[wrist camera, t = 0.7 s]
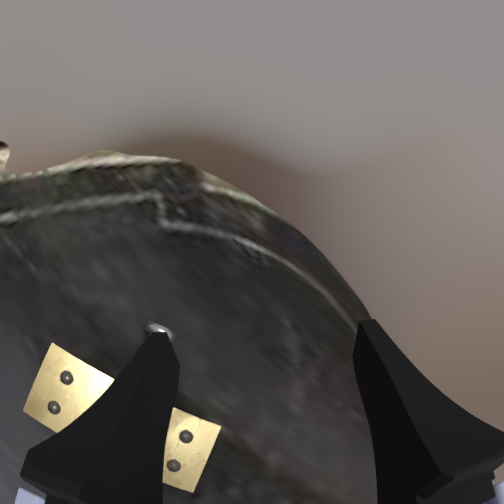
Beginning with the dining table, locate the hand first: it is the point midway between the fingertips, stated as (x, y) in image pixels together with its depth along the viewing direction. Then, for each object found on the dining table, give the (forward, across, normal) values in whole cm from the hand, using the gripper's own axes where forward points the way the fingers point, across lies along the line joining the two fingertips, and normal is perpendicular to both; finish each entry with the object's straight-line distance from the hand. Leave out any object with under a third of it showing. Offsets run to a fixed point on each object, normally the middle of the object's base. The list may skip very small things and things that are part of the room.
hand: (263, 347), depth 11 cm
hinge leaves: (+3, +13, +13) cm, 19 cm away
